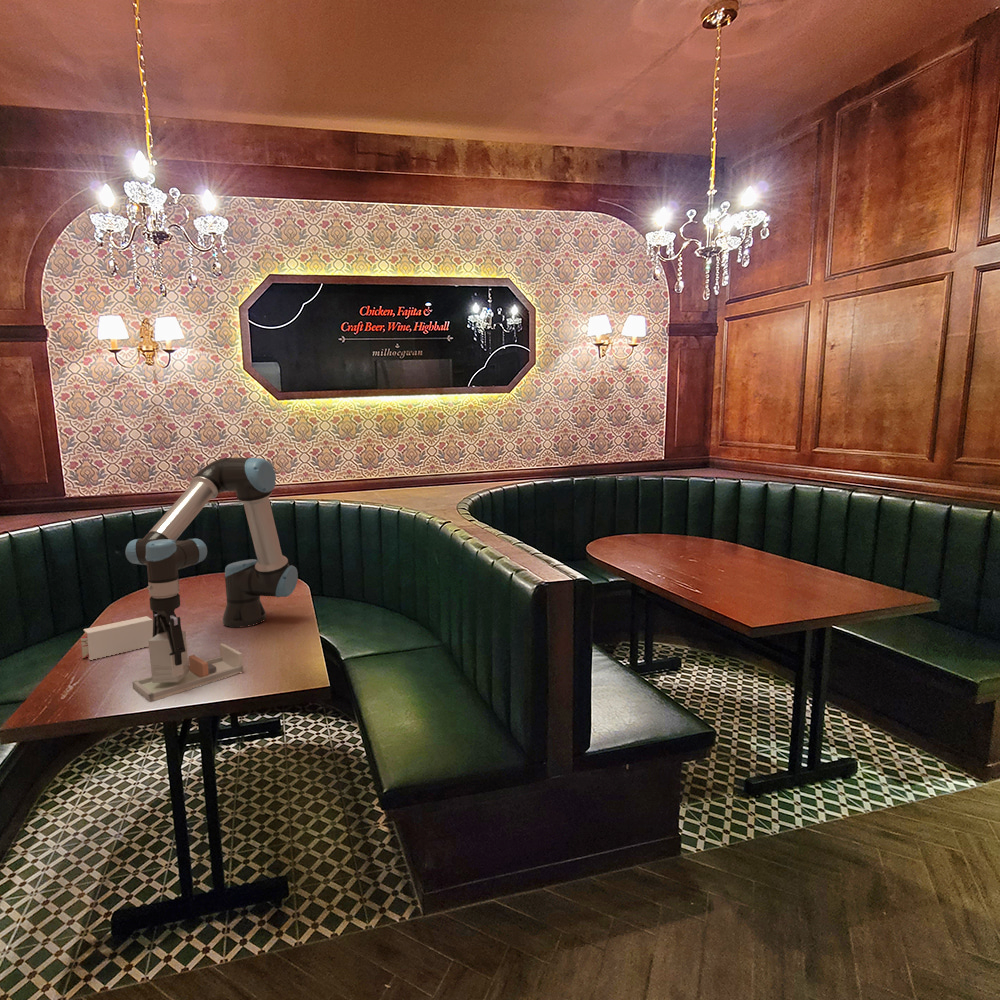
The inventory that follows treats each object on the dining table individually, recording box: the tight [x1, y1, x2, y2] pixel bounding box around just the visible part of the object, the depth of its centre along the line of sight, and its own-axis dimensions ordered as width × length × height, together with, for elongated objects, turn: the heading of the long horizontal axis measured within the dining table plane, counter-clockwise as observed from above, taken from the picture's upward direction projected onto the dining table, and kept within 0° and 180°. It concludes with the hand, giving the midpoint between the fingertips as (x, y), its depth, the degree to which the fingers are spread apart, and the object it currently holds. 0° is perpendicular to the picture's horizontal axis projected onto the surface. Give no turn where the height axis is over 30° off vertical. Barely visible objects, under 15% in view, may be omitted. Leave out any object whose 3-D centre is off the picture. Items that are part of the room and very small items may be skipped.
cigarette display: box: [80, 615, 153, 661], centre depth 203 cm, size 20×6×9 cm, turn 135°
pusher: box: [188, 654, 216, 678], centre depth 183 cm, size 5×10×4 cm, turn 48°
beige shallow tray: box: [131, 643, 244, 703], centre depth 180 cm, size 26×13×6 cm, turn 138°
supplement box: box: [148, 630, 189, 683], centre depth 176 cm, size 7×7×13 cm
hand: (170, 670), depth 176 cm, fingers closed on supplement box, 10 cm apart
